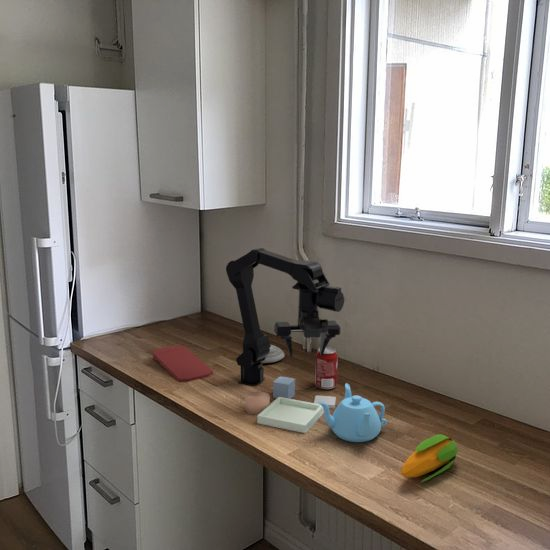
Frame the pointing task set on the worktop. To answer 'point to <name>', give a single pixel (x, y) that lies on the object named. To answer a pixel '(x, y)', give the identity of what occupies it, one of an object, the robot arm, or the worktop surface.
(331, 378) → the soda can
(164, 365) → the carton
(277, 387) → the blue block
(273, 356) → the flying saucer
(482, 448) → the worktop surface
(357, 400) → the teapot
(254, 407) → the pink rounded piece
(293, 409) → the tray
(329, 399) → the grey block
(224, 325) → the worktop surface
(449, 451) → the corn
